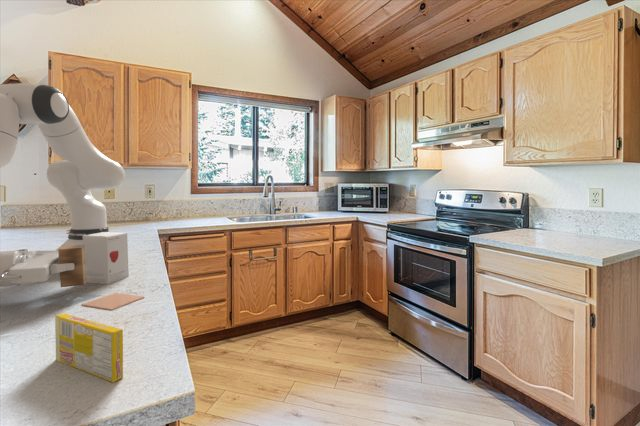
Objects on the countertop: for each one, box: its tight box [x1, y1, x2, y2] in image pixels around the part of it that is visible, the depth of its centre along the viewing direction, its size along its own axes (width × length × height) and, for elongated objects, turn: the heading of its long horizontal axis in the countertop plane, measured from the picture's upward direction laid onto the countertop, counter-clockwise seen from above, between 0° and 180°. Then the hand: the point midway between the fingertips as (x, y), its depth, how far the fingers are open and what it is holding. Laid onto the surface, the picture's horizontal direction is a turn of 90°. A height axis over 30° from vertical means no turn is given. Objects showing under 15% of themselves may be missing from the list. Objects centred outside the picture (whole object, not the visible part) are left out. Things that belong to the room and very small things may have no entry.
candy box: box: [54, 312, 124, 384], centre depth 60 cm, size 16×2×8 cm, turn 64°
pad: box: [81, 292, 145, 311], centre depth 93 cm, size 10×10×1 cm
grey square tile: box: [44, 291, 102, 307], centre depth 95 cm, size 9×9×1 cm
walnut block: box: [57, 244, 87, 288], centre depth 95 cm, size 5×5×10 cm
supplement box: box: [83, 231, 129, 285], centre depth 113 cm, size 9×9×15 cm
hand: (76, 263), depth 95 cm, fingers closed on walnut block, 5 cm apart
